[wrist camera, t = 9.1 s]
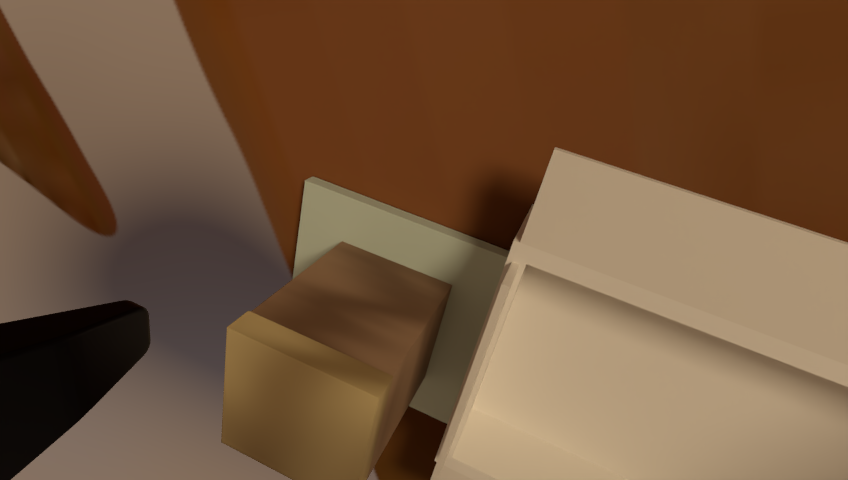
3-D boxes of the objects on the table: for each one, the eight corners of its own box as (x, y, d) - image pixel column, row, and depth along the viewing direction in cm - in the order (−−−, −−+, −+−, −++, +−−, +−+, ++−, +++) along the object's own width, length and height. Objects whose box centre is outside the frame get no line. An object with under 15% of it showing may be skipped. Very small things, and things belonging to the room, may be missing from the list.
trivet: (516, 253, 19) (513, 260, 19) (456, 417, 23) (452, 426, 23) (312, 176, 21) (305, 180, 21) (290, 340, 25) (283, 347, 25)
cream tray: (1198, 325, 13) (1473, 472, 9) (827, 632, 21) (880, 792, 16) (561, 124, 17) (539, 159, 13) (443, 446, 24) (404, 538, 20)
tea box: (454, 284, 20) (379, 398, 14) (425, 378, 22) (351, 510, 16) (341, 239, 21) (226, 326, 15) (325, 333, 23) (221, 442, 17)
